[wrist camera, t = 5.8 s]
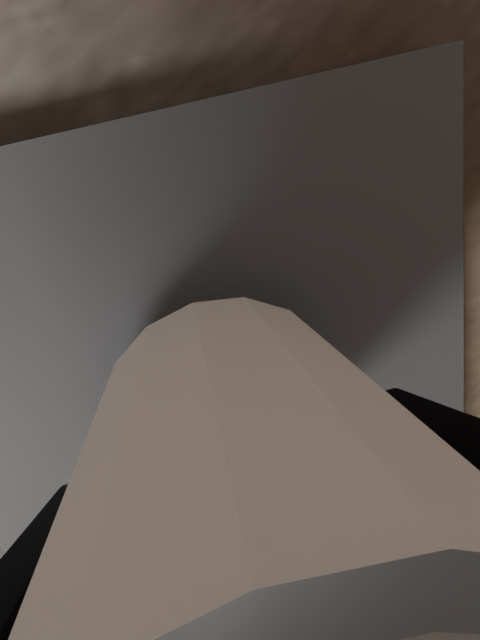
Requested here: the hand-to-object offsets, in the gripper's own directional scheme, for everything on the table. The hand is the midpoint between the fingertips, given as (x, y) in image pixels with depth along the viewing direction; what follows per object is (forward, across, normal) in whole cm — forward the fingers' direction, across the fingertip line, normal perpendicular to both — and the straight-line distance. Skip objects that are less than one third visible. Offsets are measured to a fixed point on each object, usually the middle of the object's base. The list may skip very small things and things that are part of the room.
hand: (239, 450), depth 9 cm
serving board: (+4, 0, 0) cm, 4 cm away
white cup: (+2, 0, 0) cm, 2 cm away
